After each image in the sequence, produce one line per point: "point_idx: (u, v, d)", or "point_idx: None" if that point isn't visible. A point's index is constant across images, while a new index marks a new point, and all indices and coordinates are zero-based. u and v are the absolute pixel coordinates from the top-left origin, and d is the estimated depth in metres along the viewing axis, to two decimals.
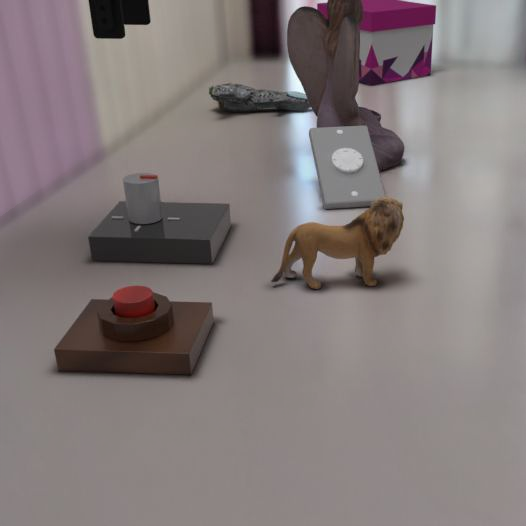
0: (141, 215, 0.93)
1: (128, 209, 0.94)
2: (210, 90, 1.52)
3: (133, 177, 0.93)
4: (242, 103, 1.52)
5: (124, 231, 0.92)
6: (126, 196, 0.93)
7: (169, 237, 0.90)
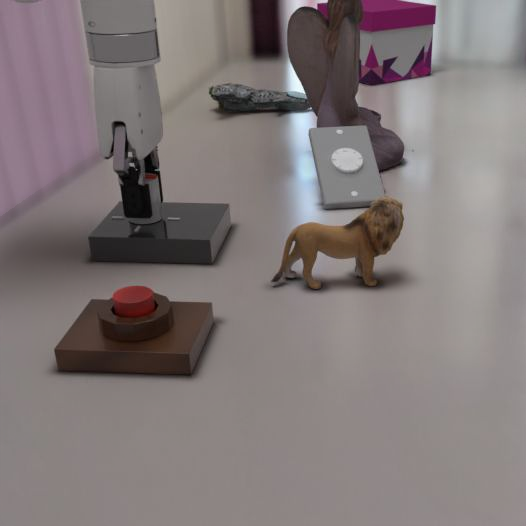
0: None
1: None
2: (210, 90, 1.52)
3: None
4: (242, 103, 1.52)
5: (124, 231, 0.92)
6: None
7: (169, 237, 0.90)
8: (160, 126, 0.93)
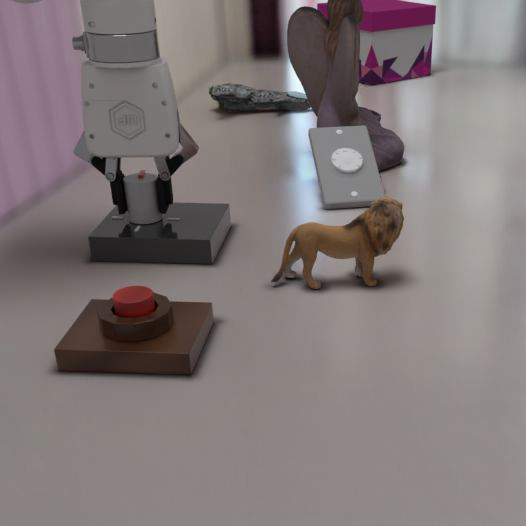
0: None
1: (153, 210, 0.94)
2: (210, 90, 1.52)
3: (138, 179, 0.92)
4: (242, 103, 1.52)
5: (124, 231, 0.92)
6: (151, 197, 0.93)
7: (169, 237, 0.90)
8: None
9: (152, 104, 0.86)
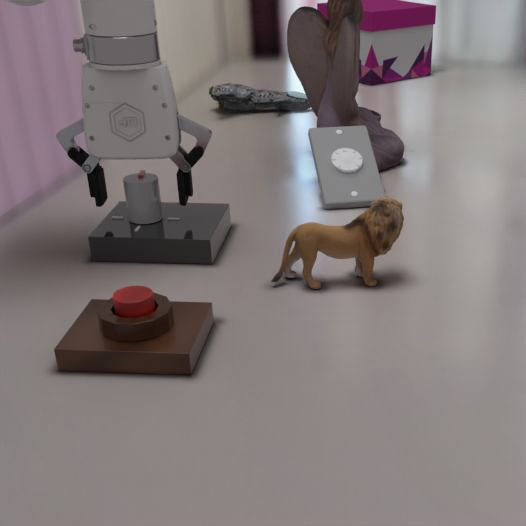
0: (161, 208, 0.95)
1: (153, 210, 0.94)
2: (210, 90, 1.52)
3: (138, 179, 0.92)
4: (242, 103, 1.52)
5: (124, 231, 0.92)
6: (151, 197, 0.93)
7: (169, 237, 0.90)
8: None
9: (152, 106, 0.86)
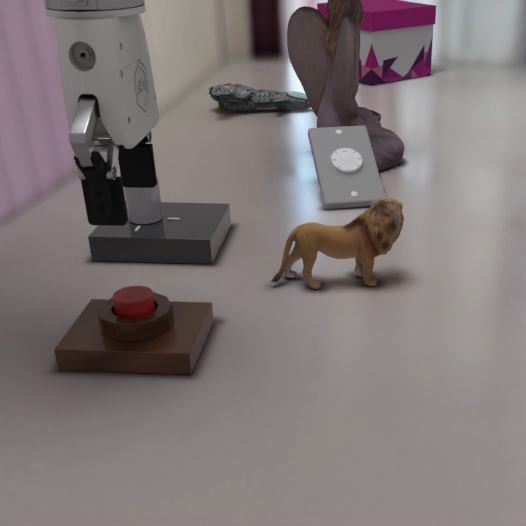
0: (161, 208, 0.95)
1: (153, 210, 0.94)
2: (210, 90, 1.52)
3: None
4: (242, 103, 1.52)
5: (124, 231, 0.92)
6: (151, 197, 0.93)
7: (169, 237, 0.90)
8: None
9: (147, 58, 0.67)
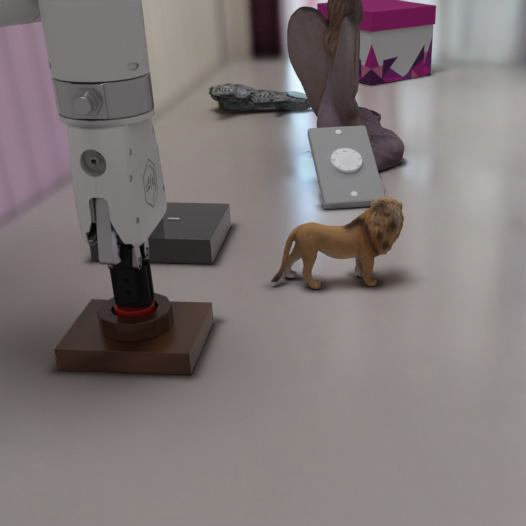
0: None
1: None
2: (210, 90, 1.52)
3: None
4: (242, 103, 1.52)
5: None
6: None
7: (169, 237, 0.90)
8: None
9: (156, 154, 0.69)
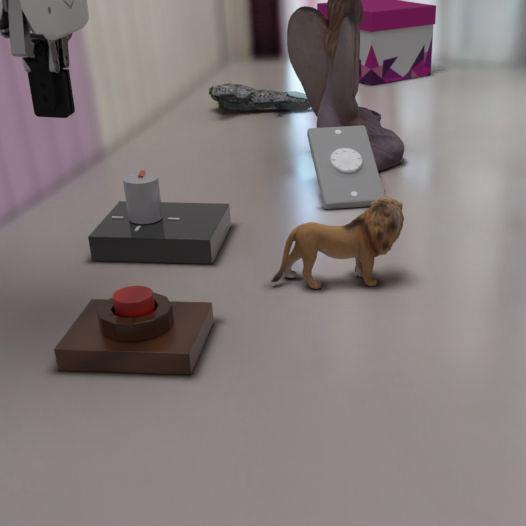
0: (161, 208, 0.95)
1: (153, 210, 0.94)
2: (210, 90, 1.52)
3: (138, 179, 0.92)
4: (242, 103, 1.52)
5: (124, 231, 0.92)
6: (151, 197, 0.93)
7: (169, 237, 0.90)
8: None
9: None
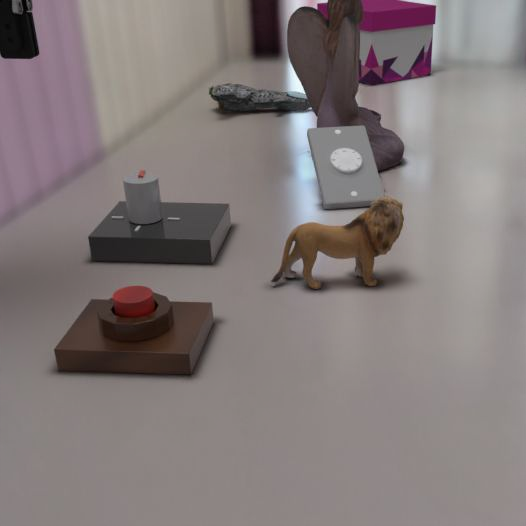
0: (161, 208, 0.95)
1: (153, 210, 0.94)
2: (210, 90, 1.52)
3: (138, 179, 0.92)
4: (242, 103, 1.52)
5: (124, 231, 0.92)
6: (151, 197, 0.93)
7: (169, 237, 0.90)
8: None
9: None
